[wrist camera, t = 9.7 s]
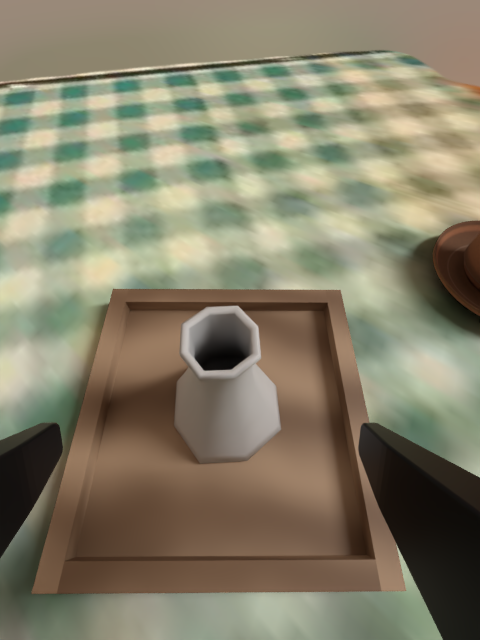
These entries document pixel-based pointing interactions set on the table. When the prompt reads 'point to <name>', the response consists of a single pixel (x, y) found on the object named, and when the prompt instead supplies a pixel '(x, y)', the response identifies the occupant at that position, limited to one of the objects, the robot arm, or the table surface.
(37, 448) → the robot arm
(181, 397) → the flask
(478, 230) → the cup and saucer
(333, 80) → the table surface
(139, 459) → the walnut tray
